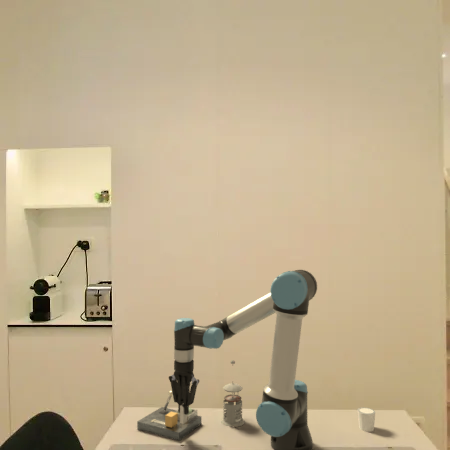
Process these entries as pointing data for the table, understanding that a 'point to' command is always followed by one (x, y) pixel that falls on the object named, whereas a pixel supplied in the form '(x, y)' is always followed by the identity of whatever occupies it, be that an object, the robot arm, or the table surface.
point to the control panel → (157, 426)
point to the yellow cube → (171, 419)
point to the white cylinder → (366, 419)
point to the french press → (232, 406)
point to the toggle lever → (168, 400)
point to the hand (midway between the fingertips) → (183, 422)
